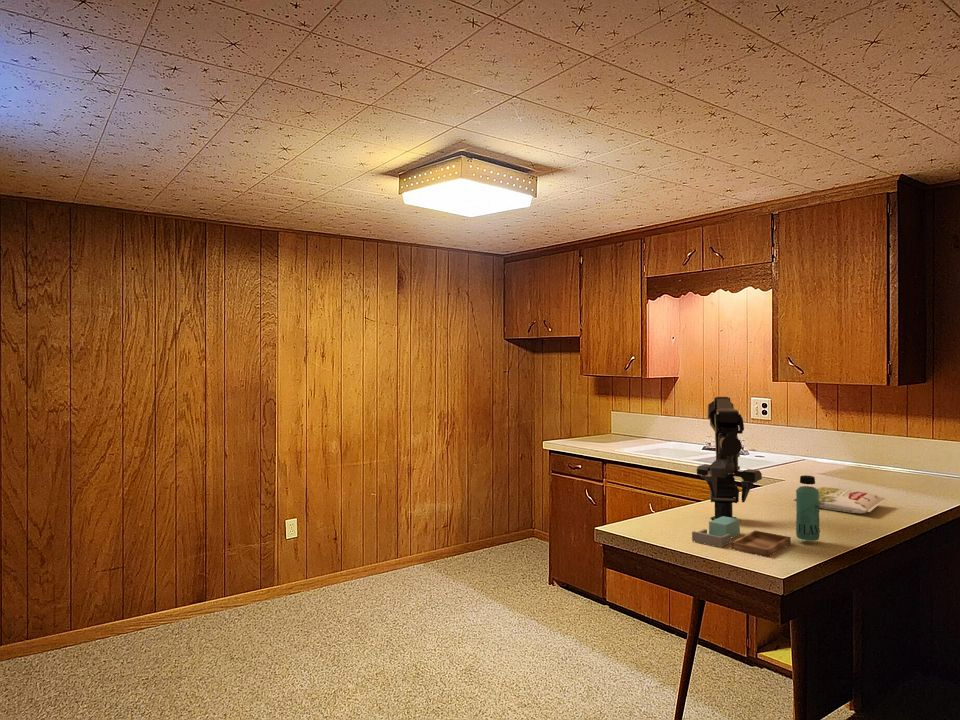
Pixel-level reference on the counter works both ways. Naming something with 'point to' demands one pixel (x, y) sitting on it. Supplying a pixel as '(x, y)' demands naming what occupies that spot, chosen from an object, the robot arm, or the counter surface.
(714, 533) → the mint rectangular block
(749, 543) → the tray
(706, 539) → the dock
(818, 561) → the counter surface
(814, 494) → the beverage bottle
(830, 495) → the frozen beans
